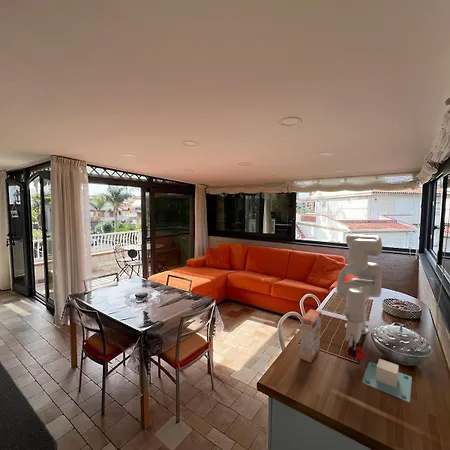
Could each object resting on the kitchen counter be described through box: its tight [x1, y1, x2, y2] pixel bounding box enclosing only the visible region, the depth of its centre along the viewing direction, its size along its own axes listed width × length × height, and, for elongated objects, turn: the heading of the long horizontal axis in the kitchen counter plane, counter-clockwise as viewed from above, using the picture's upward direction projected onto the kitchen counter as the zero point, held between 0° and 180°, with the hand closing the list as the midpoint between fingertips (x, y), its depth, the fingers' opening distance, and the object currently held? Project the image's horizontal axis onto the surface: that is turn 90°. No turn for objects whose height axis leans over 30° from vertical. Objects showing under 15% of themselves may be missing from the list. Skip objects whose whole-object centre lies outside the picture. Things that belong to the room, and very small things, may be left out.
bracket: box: [345, 346, 366, 360], centre depth 108 cm, size 6×5×3 cm
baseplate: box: [361, 361, 413, 403], centre depth 100 cm, size 18×16×2 cm
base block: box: [376, 358, 400, 388], centre depth 100 cm, size 7×7×6 cm
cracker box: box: [299, 309, 322, 363], centre depth 119 cm, size 14×6×21 cm, turn 142°
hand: (353, 352), depth 109 cm, fingers closed on bracket, 5 cm apart
